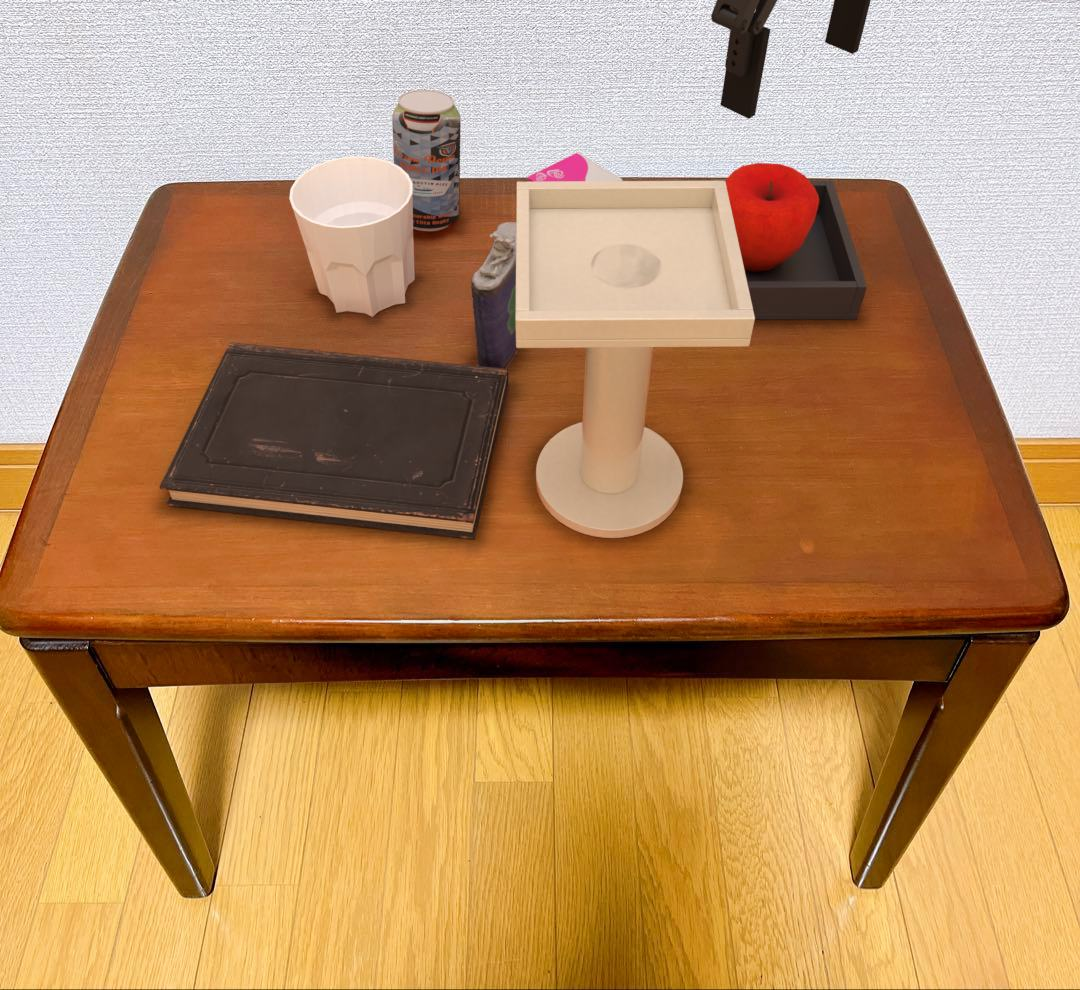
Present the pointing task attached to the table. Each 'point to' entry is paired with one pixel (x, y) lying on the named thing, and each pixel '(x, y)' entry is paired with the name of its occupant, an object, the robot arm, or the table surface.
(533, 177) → the supplement box
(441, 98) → the beverage can
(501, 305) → the flask
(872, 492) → the table surface
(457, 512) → the hardcover book
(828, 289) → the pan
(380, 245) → the cup
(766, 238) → the apple
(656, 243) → the pedestal tray stand
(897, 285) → the table surface
